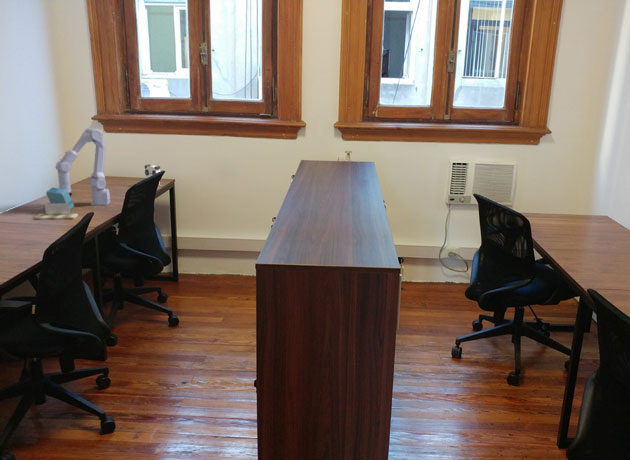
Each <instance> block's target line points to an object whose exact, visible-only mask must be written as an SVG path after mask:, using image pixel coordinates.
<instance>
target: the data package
mask: <svg viewBox="0 0 630 460" xmlns="http://www.w3.org/2000/svg"><path fill="white" fill-rule="evenodd" d="M45 193H46V196H47V198H48V200H49V203H69V207H70V211H71V210H72V209H73V208H74V207H75V205H74V202H73V200H72V196H71V197H70V195H69V193H70V192H68V191H67V190H66V189H60V188H59V187H58V188H57V187H51V188H50V189H49V190H47V191H46V192H45Z"/></svg>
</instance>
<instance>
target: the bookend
mask: <svg viewBox="0 0 630 460" xmlns="http://www.w3.org/2000/svg"><path fill="white" fill-rule="evenodd" d="M44 206H45V207H44V209H45V213H39V214H37V215H36V216H35V217H33V220H36V221H38V220H39V221H40V220H41V221H42V220H45V221H46V220H47V221H48V220H55V221H56V220H75V219H76V218H77V217H78V216H79V213H71V210H70V207H69V203H50V202H46V203H44Z"/></svg>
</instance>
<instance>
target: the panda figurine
mask: <svg viewBox="0 0 630 460" xmlns="http://www.w3.org/2000/svg"><path fill="white" fill-rule="evenodd" d="M144 169H145V170H144V174H145V177H146V178H147V179H148V177H150V176H152V175H154V174H156V173H158V172H161V166H160V165H151V164H145V165H144ZM159 185H160V186H161V184H160V182H159Z"/></svg>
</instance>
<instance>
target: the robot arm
mask: <svg viewBox="0 0 630 460" xmlns="http://www.w3.org/2000/svg"><path fill="white" fill-rule="evenodd" d="M91 142H92V143H93V144H94V145H95V153H94V161H93V171H92V173H91V176H90V178H89V181H88V182H89V185H90V187H91V196H92V202H91V203H90V205H91V206H98V205H99V206H105V205H106V206H107V205H109V204H110V203H111V194H110V190H109V189H108V188H106V186H107V182H106V176H105V173H104V169H105V157H106V147H107V142H106V140H105V138H104V134H103V132H102V131H100V129H96V128H92V127H87V128H85V130H84V131H83V132H82V133H81V136H80V137H79V138H78V140H77V142H76V143H75V144H74V146H73V147H72V149H69V150H68V151H65V152H64V153H65V154H64V156H63V157H62V158H60V160H59V161H58V162H57V163H55V165H56V166H55V169H56V171H57V177H58V184H59V185H58V186H59V187H58V188H59V189H66V190H67V191H68V192H69V195H70V197H71V198H72V194H73V193H72V187H71V180H70V179H71V178H70V170H71V166H72V165H73V163H74V162H75V161H76V159H77V158H78V153H79V152H80V151H81V150H82V148H83V147H84V146H85V145H86V144H87V143H91Z"/></svg>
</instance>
